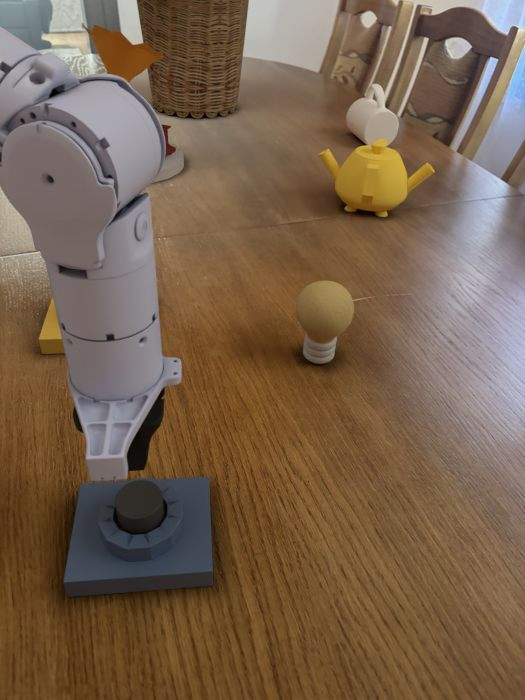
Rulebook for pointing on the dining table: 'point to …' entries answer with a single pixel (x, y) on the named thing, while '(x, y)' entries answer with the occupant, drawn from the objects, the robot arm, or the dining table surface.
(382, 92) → the mug
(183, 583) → the block
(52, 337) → the block
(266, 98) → the dining table surface
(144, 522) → the button
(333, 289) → the light bulb
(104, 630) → the dining table surface
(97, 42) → the gramophone
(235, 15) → the wicker basket
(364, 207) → the teapot
